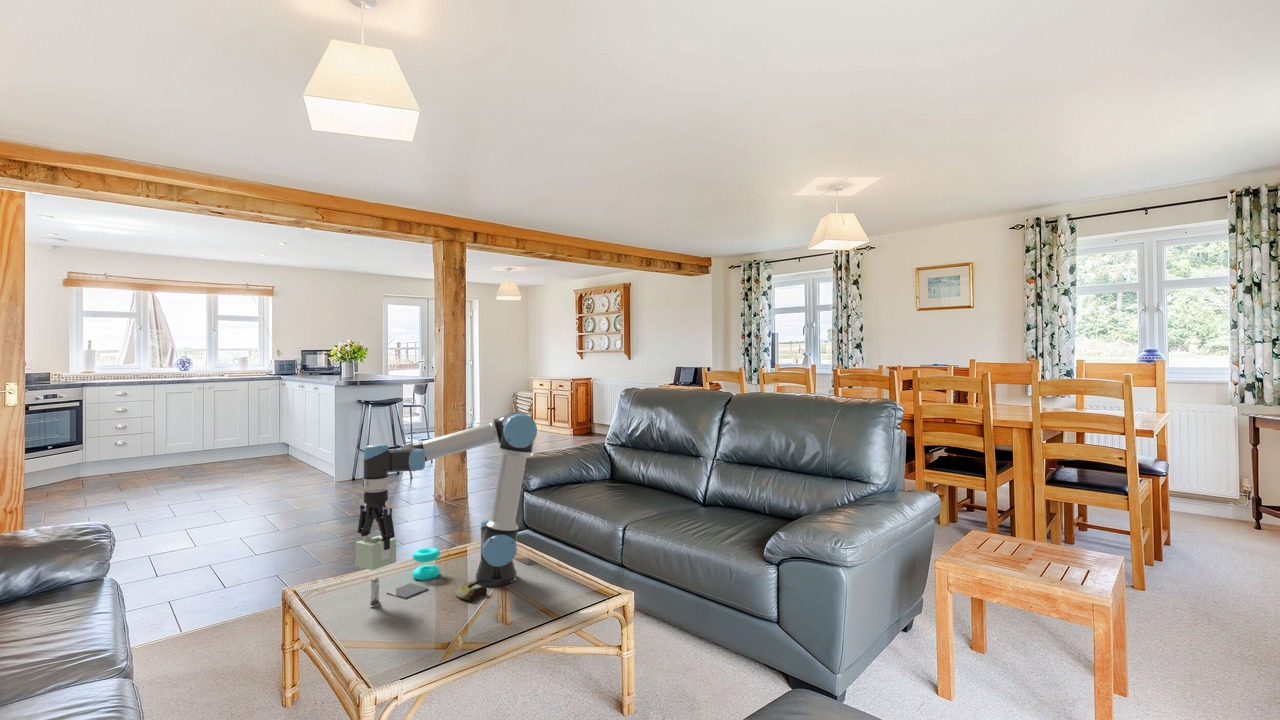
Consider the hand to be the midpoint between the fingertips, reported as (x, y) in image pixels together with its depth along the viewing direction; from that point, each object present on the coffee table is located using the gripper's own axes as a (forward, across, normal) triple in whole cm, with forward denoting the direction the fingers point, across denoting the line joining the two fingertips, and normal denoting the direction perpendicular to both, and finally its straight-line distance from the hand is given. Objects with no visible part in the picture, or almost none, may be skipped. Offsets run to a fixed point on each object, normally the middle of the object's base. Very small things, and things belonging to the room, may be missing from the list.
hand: (375, 556), depth 198 cm
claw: (+17, +19, +25) cm, 36 cm away
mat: (+17, -1, +14) cm, 22 cm away
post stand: (+16, 0, 0) cm, 16 cm away
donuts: (+17, -8, +28) cm, 34 cm away
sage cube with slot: (+2, 0, 0) cm, 2 cm away
